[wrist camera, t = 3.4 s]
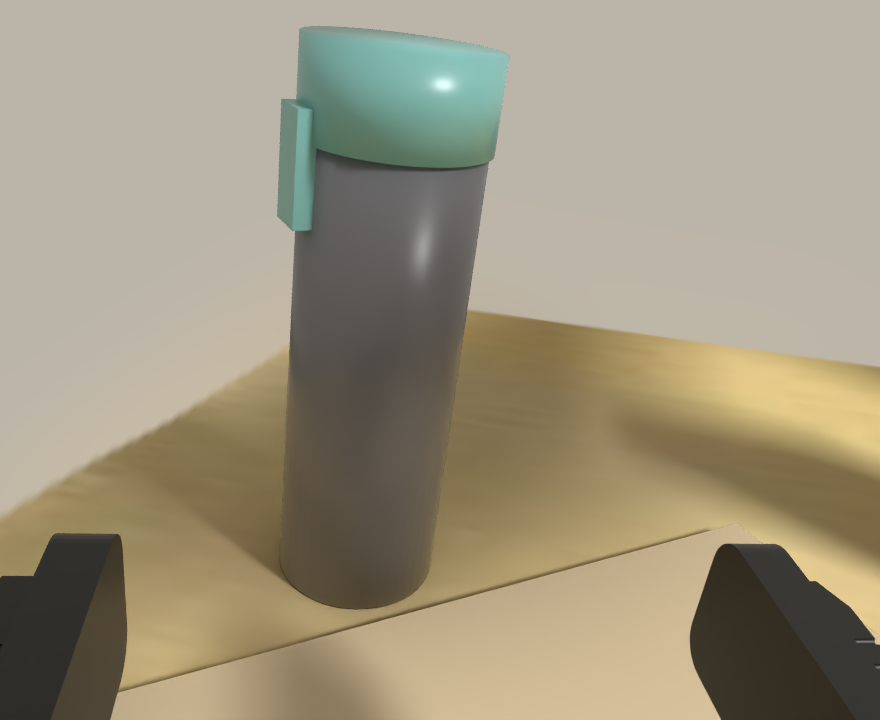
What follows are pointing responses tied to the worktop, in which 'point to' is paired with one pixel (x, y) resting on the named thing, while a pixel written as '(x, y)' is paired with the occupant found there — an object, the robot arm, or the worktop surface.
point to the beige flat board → (485, 654)
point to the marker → (377, 296)
